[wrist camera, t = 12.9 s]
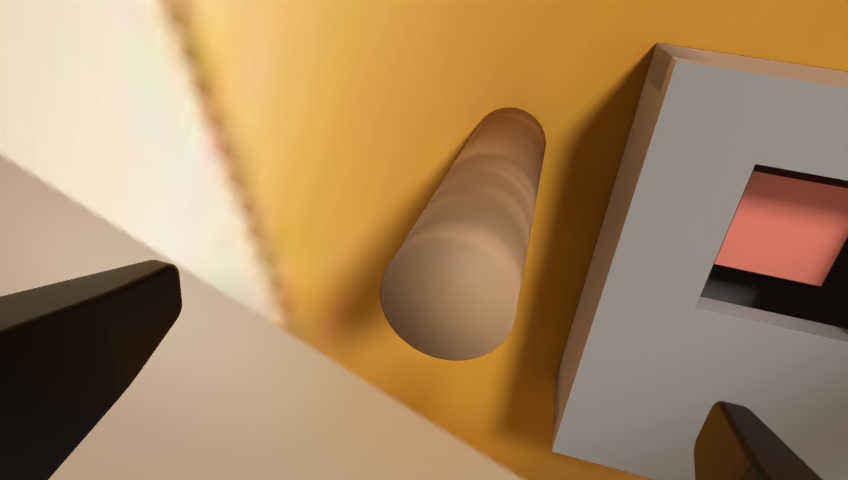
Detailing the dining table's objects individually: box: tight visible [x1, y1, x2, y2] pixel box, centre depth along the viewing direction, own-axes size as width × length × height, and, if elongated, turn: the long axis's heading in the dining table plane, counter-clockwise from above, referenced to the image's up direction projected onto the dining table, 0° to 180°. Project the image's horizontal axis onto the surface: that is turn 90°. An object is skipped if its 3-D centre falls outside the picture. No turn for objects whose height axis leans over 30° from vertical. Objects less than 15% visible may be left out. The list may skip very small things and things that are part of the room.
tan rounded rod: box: [380, 108, 546, 360], centre depth 15 cm, size 3×3×11 cm
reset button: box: [714, 164, 848, 286], centre depth 18 cm, size 3×3×2 cm
